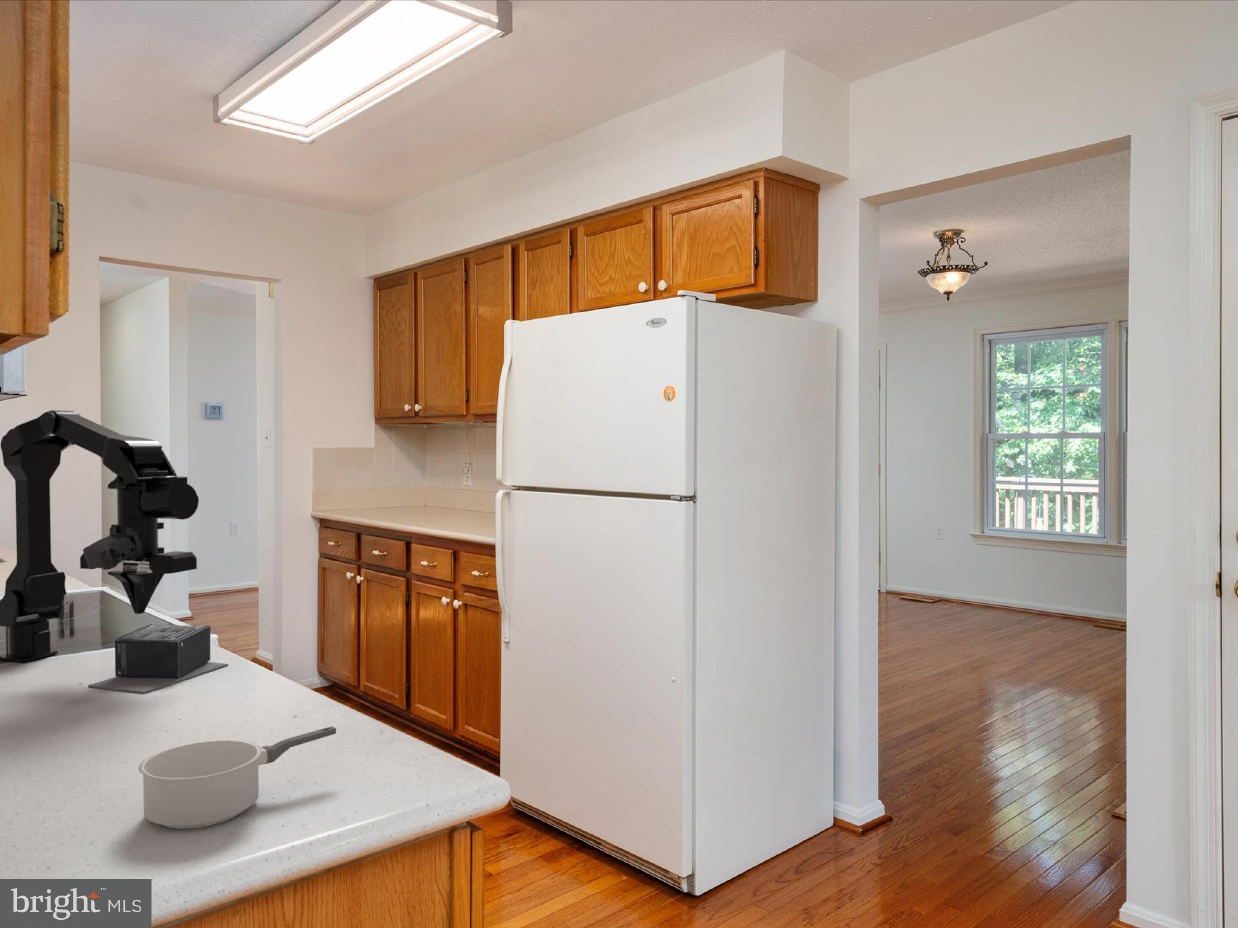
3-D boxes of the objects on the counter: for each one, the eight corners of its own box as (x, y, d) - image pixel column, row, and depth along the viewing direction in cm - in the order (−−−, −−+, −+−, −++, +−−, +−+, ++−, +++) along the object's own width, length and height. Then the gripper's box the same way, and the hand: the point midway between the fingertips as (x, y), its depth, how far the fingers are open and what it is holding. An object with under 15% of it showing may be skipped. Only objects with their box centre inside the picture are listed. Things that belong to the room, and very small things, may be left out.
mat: (88, 686, 134) (88, 685, 134) (176, 660, 150) (176, 658, 150) (144, 693, 131) (144, 691, 131) (228, 665, 147) (228, 663, 147)
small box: (113, 679, 138) (179, 680, 138) (112, 638, 138) (178, 639, 137) (151, 660, 149) (212, 661, 148) (150, 622, 148) (211, 623, 148)
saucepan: (357, 790, 96) (357, 739, 96) (158, 848, 82) (157, 789, 82) (313, 761, 104) (312, 715, 104) (125, 809, 90) (124, 756, 90)
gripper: (48, 520, 136) (50, 619, 137) (141, 523, 131) (143, 627, 131) (109, 514, 147) (111, 606, 147) (198, 517, 141) (200, 613, 142)
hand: (139, 613), depth 142 cm, fingers closed
